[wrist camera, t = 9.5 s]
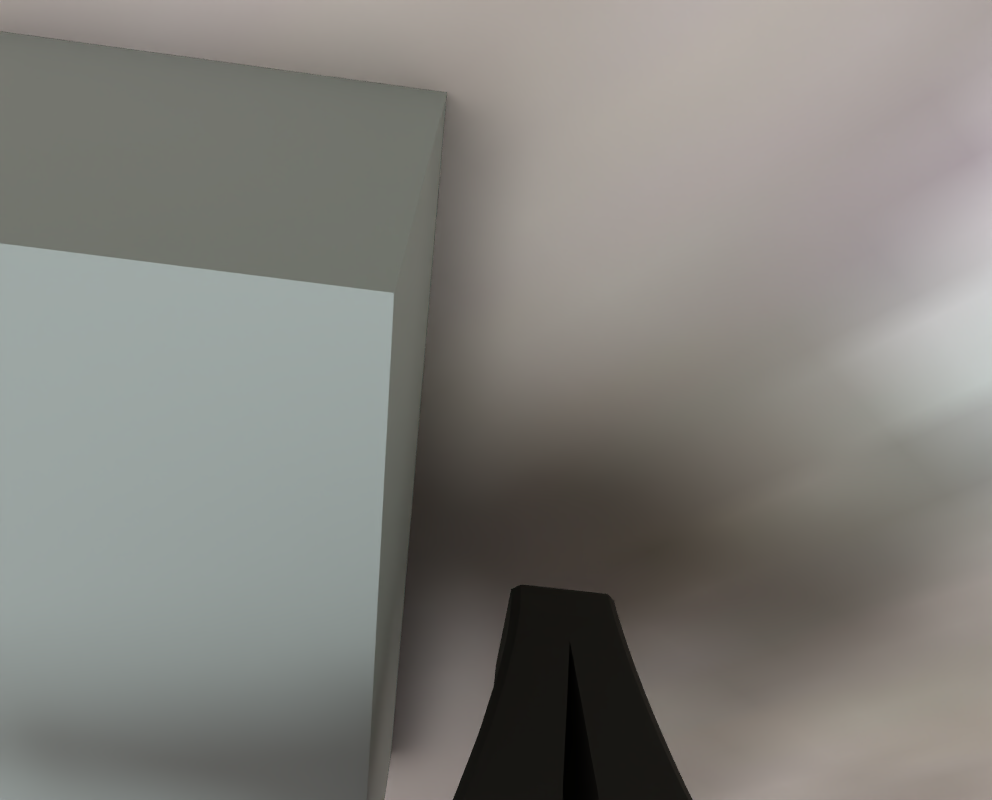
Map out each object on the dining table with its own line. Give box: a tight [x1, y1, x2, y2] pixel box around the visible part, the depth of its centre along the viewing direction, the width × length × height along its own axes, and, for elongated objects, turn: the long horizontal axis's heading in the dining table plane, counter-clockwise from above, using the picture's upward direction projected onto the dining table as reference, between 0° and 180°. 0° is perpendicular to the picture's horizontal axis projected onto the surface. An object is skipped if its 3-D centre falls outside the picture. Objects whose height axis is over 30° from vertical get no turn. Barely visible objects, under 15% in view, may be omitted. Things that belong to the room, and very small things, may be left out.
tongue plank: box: [0, 32, 447, 800], centre depth 12 cm, size 14×6×4 cm, turn 173°
